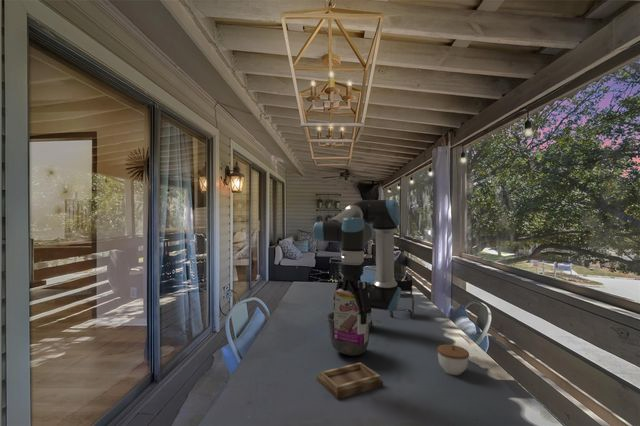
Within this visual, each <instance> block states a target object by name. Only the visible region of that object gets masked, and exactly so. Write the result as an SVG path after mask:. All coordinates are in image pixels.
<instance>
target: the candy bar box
mask: <svg viewBox="0 0 640 426" xmlns="http://www.w3.org/2000/svg"><path fill="white" fill-rule="evenodd" d="M335 290H336V289H335ZM335 290H334V293H333V295H334V296H333V312H334V319H333V320H334V321H333V339H336V340H340V341H345V342H350V343H355V344H360V345H364V344H365V343H366V342H367V341H368V319H369V313H368V314H367V319H366V320H367V322H366V333H365V334H360V335H358V334H357V328H358V313H359V309H358V306H357V303H356V300H355V297H354V295H353V294H352V292H351V291H349V290H342V289H338V290H336V291H335ZM368 296H369V293H368ZM362 310H363V309H362ZM368 342H369V341H368Z"/></svg>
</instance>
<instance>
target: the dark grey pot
mask: <svg viewBox="0 0 640 426" xmlns="http://www.w3.org/2000/svg"><path fill="white" fill-rule="evenodd" d="M326 316H327V321H328V327H329V334H330V335H329V336H330V342H331V345H332V347H333V348H334V349H335V350H336V351H337V352H339V353H341V354H342V355H346V356H351V357H352V356H353V357H355V356H360V355H361V354H364V353H365V352H366V350H367V349H368V346H369V342H370V341H369V340H370V339H369V338H370V331H369V329H370V323H371V320H372V321H373V319H372V316H371V315H370V316H371V317H370V316H369V319H368V341H367V342H366V343H365V344H364V345H360V344H355V343H350V342H345V341H340V340H336V339H333V321H334V320H333V319H334V311H333V312H329V313H328V314H327V315H326Z"/></svg>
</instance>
